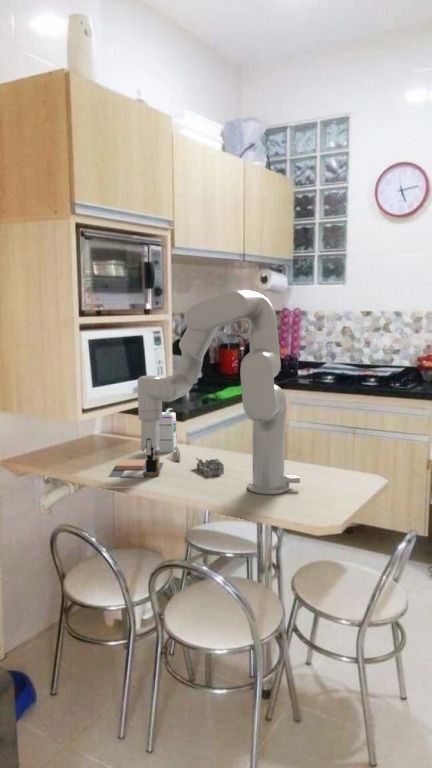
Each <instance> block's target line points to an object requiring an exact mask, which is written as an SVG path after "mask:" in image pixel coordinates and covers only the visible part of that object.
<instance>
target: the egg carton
mask: <svg viewBox="0 0 432 768" xmlns="http://www.w3.org/2000/svg"><path fill="white" fill-rule="evenodd" d="M195 460H197V463H196V468H197V470H199V472H200V473H203V477H209V478H210V477H213V476H222V475H223V474H225V471H224V467H225V464H224V463H223V462H222V461H220V459H218V458H214V459H212V458H211V459H210V460H208V459H206V460H205V461H203V460H202V459H201V458H199V459H198V457H196V458H195Z"/></svg>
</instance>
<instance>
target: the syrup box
mask: <svg viewBox="0 0 432 768" xmlns="http://www.w3.org/2000/svg"><path fill="white" fill-rule="evenodd" d="M176 416H177V415H176V412H174V411H162V419H161V420H159V432H160V441H159V446H158V451H159V453H174V452H176V447H177V448H178V442H177V441H178V440H177V438H178V434H177V417H176Z"/></svg>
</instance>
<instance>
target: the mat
mask: <svg viewBox="0 0 432 768" xmlns="http://www.w3.org/2000/svg"><path fill="white" fill-rule="evenodd" d="M163 466H164V462H160V471H161V470H162V467H163ZM143 470H146V465H145V467H144V469H143ZM124 471H135V470H116V465H115V466H114V468H113V470H112V471H111V472H110V473H109V475H108V476H107V477H108V478H121V476H122V474H123V473H124ZM158 477H159V476H149V475H144V477H143V478H158Z"/></svg>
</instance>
